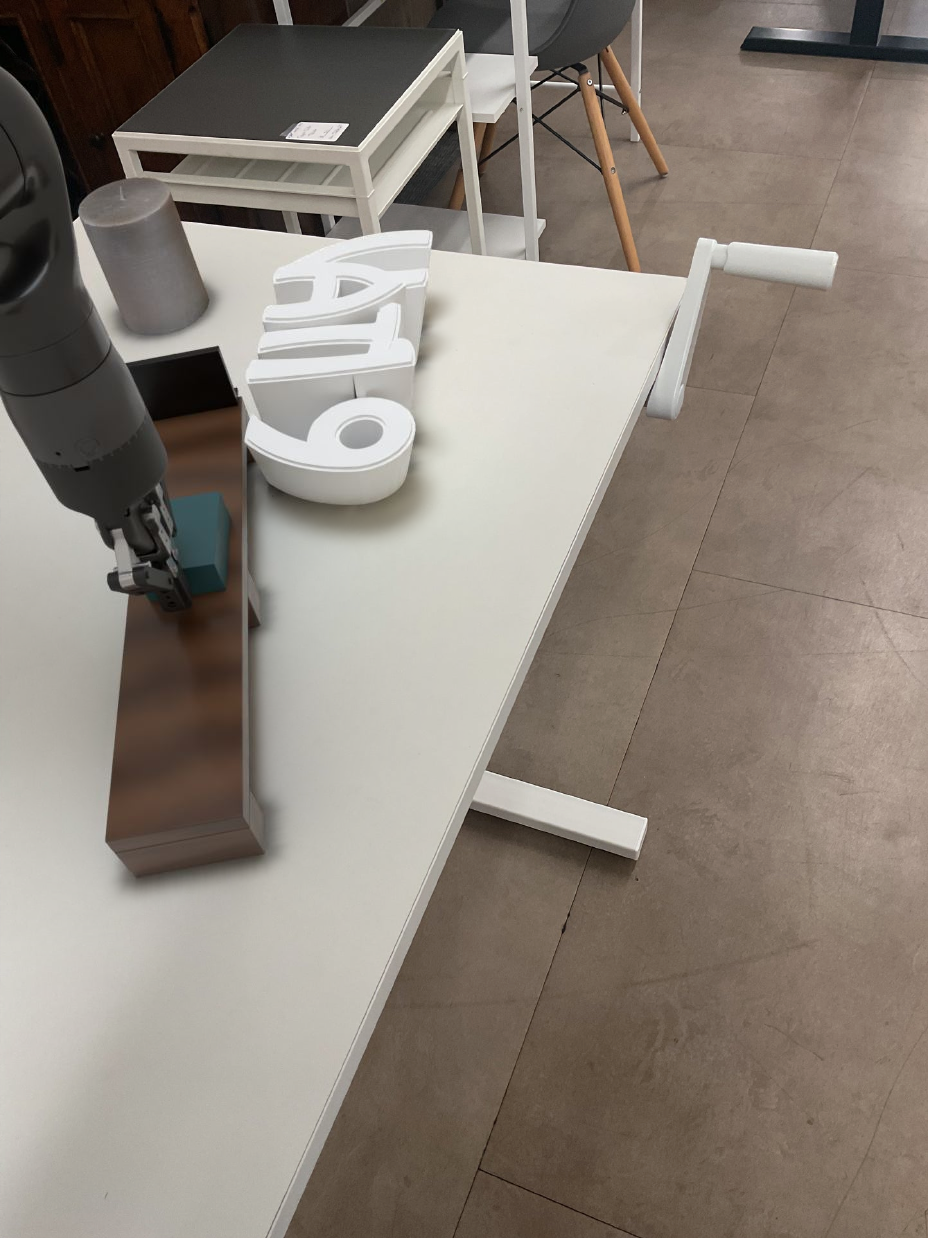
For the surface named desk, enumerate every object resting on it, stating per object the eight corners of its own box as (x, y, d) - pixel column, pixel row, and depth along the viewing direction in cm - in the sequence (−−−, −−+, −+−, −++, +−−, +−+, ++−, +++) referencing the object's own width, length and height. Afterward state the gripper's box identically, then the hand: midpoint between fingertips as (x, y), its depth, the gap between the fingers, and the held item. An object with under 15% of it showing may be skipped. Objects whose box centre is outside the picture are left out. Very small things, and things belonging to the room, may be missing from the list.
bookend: (238, 405, 92) (218, 350, 87) (147, 422, 92) (123, 368, 87) (238, 390, 93) (219, 335, 89) (149, 407, 93) (125, 353, 89)
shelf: (267, 858, 69) (242, 816, 64) (138, 882, 69) (104, 842, 64) (259, 445, 97) (241, 395, 93) (167, 462, 97) (145, 413, 93)
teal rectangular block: (226, 590, 77) (214, 563, 75) (149, 602, 77) (135, 576, 75) (231, 517, 82) (220, 490, 80) (159, 528, 83) (146, 502, 80)
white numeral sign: (311, 308, 111) (287, 218, 103) (458, 300, 109) (446, 208, 101) (239, 538, 89) (202, 448, 81) (422, 535, 87) (402, 442, 79)
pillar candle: (161, 284, 118) (112, 159, 107) (228, 298, 115) (184, 170, 103) (108, 332, 113) (51, 205, 101) (176, 348, 109) (125, 218, 98)
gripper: (40, 369, 67) (137, 550, 80) (6, 503, 58) (122, 682, 71) (151, 348, 66) (230, 533, 80) (134, 479, 58) (227, 663, 71)
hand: (179, 603), depth 75 cm, fingers closed
